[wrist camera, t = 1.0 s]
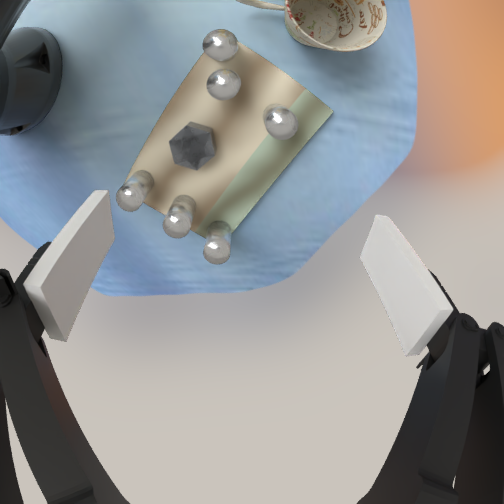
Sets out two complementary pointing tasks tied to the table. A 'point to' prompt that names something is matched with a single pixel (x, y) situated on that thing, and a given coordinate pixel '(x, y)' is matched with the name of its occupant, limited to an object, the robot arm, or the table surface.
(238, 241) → the table surface
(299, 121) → the board
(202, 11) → the table surface
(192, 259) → the table surface
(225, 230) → the spacers
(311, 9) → the mug
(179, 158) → the gray polyhedron
